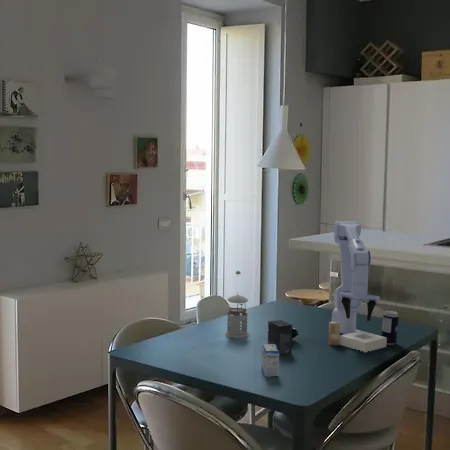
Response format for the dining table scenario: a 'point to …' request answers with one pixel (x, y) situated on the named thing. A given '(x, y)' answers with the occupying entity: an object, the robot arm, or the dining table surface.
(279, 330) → the box
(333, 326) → the beech peg
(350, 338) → the socket block
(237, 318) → the french press
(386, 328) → the beverage can
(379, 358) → the dining table surface
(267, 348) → the medicine box
